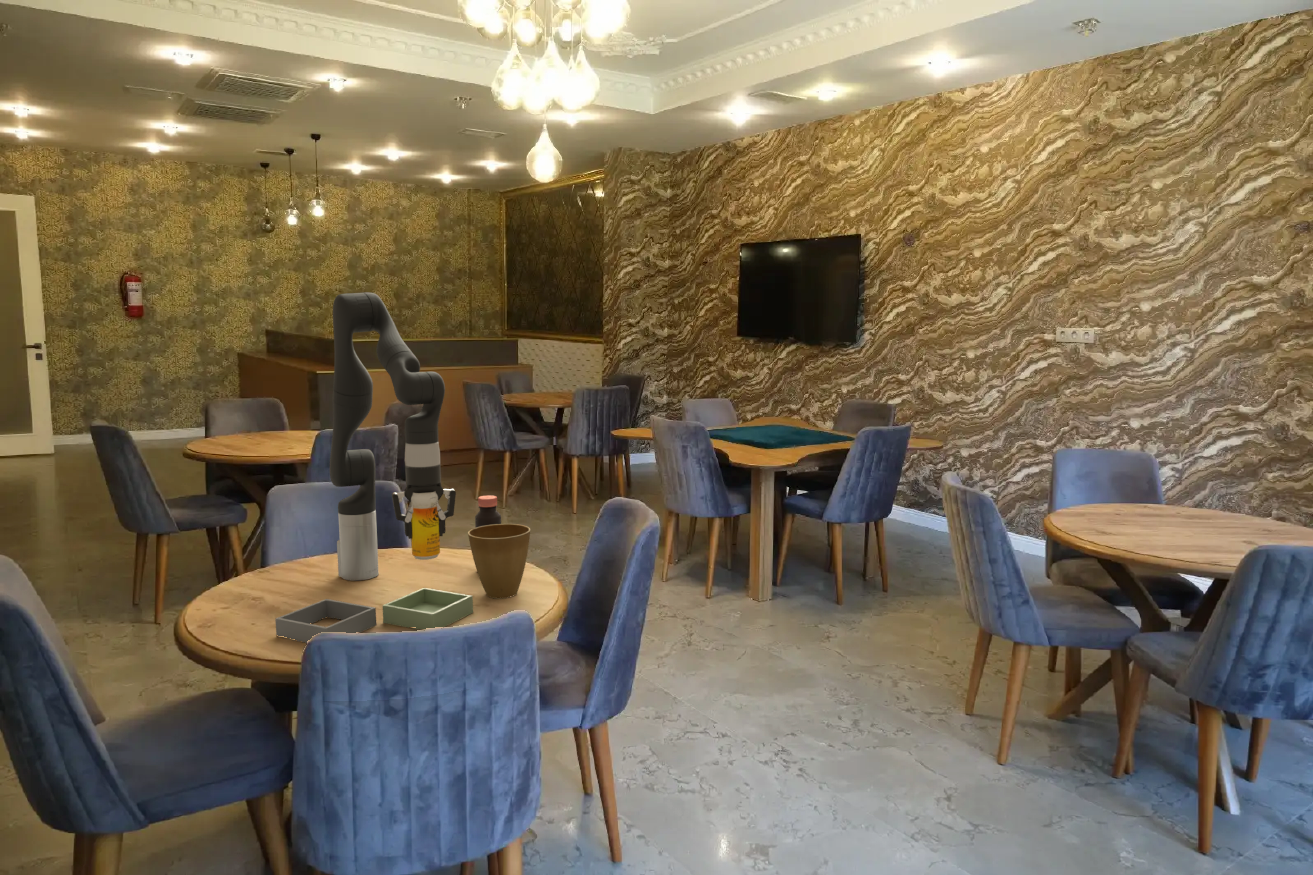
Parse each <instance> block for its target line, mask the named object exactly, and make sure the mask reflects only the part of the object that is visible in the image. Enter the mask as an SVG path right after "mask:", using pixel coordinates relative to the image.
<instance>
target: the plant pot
mask: <svg viewBox="0 0 1313 875" xmlns="http://www.w3.org/2000/svg"><path fill="white" fill-rule="evenodd" d="M467 535H468V540H469V545H470V550H471V554H472V559H473V563H474V566H475V570H476V571H477V574H478V577H479V580H480V584H481V585H482V587H483V591H484V593H485V594H486V596H487V597H489V598H490V599H491V598H492V599H506V598H507V597H508V598H511V597H510V596H512V597H514V596H516V595H517V594H518V591H519V588H520V585H521V582H522V579H523V575H524V571H525V568H526V562H527V557H528V554H529V553H528V551H529V547H530V546H529V545H530V540H531V539H530V538H531V528H530V527H529V526H527V525H523V524H517V523H501V524H494V525H486V526H481V527H477V528H471V529H470V530H469V531H467ZM513 595H514V596H513Z"/></svg>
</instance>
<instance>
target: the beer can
mask: <svg viewBox="0 0 1313 875" xmlns="http://www.w3.org/2000/svg"><path fill="white" fill-rule="evenodd" d="M437 502H438V503H439V501H438V496H437V494H436V491H435V492H430V493H413V495H412V497H411V503H410V502H409V504H410V507H411V505H412V504H413V513H412V518H411V524H412V539H410V541H411V555H412V556H413V557H414V558H415V560H419V561H426V560H427V561H428V560H429V561H430V560H433V559H437V558H438V556H439V554H440V553H441V541H440V538H441V536H439V515H438V511H437Z"/></svg>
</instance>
